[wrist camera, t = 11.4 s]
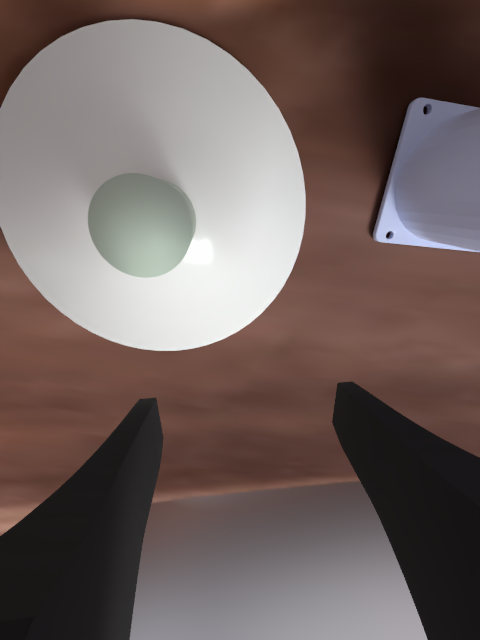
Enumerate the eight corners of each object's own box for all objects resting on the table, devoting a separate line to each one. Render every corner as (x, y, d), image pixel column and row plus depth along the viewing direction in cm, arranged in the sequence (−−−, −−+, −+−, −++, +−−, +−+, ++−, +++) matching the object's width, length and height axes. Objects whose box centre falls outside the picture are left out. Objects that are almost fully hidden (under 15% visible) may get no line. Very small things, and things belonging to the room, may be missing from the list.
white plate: (330, 62, 16) (335, 55, 15) (278, 350, 22) (280, 356, 22) (-40, -7, 13) (-54, -19, 12) (31, 339, 20) (24, 344, 19)
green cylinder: (198, 184, 17) (193, 179, 12) (194, 259, 18) (189, 281, 14) (118, 174, 16) (82, 166, 11) (123, 253, 18) (92, 273, 13)
